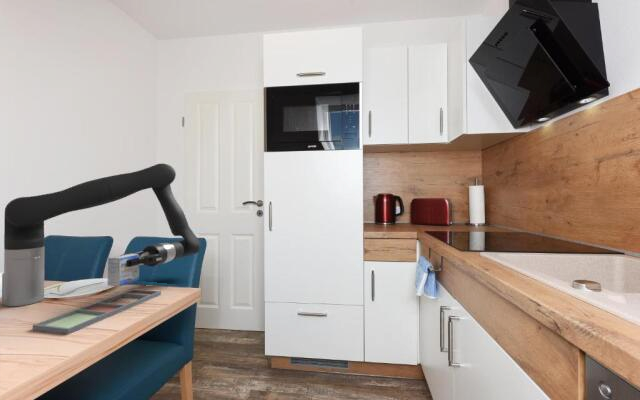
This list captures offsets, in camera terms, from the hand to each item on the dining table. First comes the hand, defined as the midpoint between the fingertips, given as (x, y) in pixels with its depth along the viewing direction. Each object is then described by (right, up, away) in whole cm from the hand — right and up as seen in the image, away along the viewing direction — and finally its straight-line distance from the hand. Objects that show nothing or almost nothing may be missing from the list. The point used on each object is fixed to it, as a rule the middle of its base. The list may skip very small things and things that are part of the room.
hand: (121, 263), depth 97 cm
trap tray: (-1, -13, -5) cm, 14 cm away
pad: (-3, -13, -15) cm, 20 cm away
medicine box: (0, -7, +1) cm, 7 cm away
